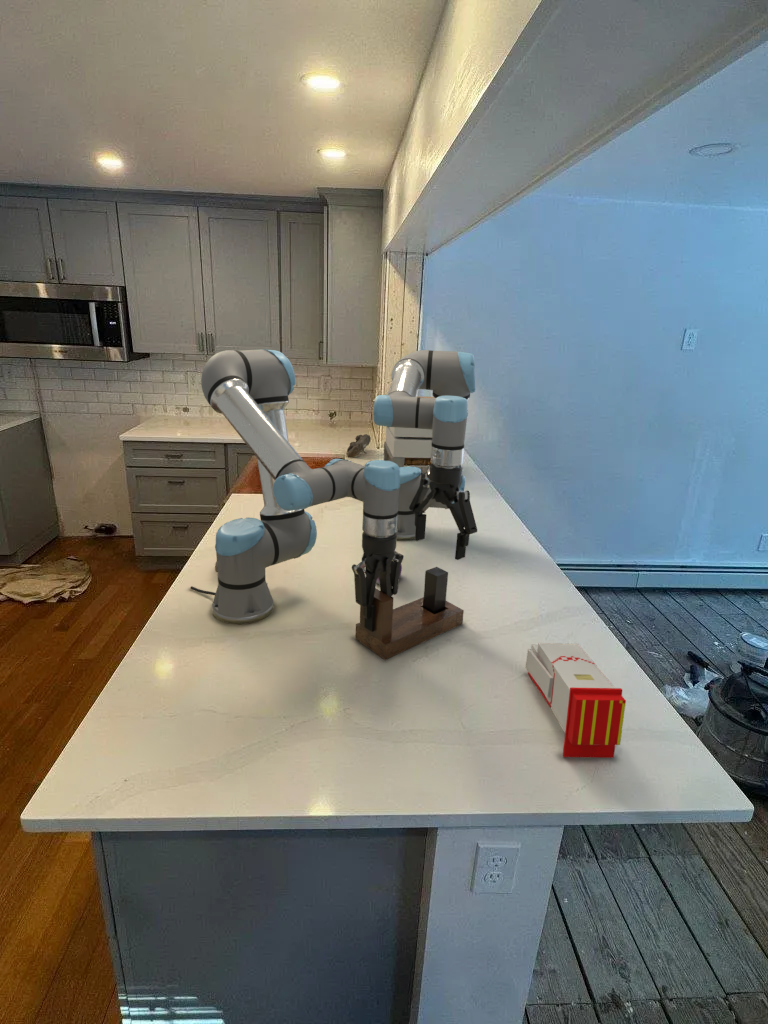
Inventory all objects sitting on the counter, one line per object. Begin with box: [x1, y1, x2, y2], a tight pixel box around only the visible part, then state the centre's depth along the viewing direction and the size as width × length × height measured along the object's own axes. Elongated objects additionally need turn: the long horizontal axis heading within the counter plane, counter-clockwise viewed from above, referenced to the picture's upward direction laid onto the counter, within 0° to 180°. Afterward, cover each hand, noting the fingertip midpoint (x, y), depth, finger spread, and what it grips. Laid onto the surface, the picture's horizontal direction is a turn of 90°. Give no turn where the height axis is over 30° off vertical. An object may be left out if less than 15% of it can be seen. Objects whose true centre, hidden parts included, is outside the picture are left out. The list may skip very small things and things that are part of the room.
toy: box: [525, 642, 627, 759], centre depth 113 cm, size 12×13×30 cm
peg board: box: [354, 587, 465, 661], centre depth 138 cm, size 11×26×14 cm, turn 131°
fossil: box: [346, 433, 372, 458], centre depth 305 cm, size 22×10×15 cm
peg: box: [423, 566, 449, 614], centre depth 143 cm, size 4×4×14 cm
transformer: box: [383, 395, 462, 467], centre depth 268 cm, size 34×33×41 cm
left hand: (375, 626), depth 131 cm, fingers closed on peg board, 3 cm apart
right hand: (439, 548), depth 138 cm, fingers open, 13 cm apart
